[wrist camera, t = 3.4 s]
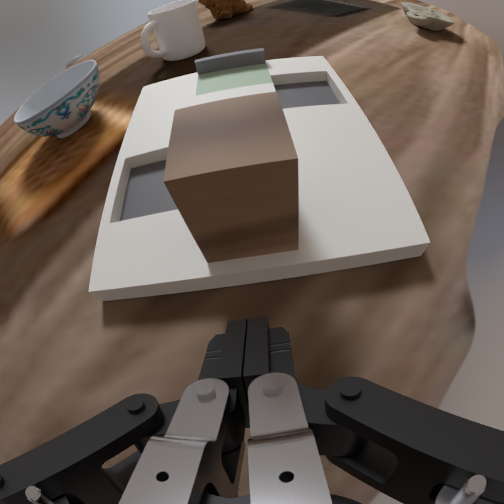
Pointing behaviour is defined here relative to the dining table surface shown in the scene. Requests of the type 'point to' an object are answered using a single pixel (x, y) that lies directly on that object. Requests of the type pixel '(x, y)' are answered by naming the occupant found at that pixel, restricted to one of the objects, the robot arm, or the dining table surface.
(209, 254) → the block
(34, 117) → the chinaware
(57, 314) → the dining table surface
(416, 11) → the oil lamp
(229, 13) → the stuffed squirrel
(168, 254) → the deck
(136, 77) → the dining table surface
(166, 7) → the mug
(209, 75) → the pad
